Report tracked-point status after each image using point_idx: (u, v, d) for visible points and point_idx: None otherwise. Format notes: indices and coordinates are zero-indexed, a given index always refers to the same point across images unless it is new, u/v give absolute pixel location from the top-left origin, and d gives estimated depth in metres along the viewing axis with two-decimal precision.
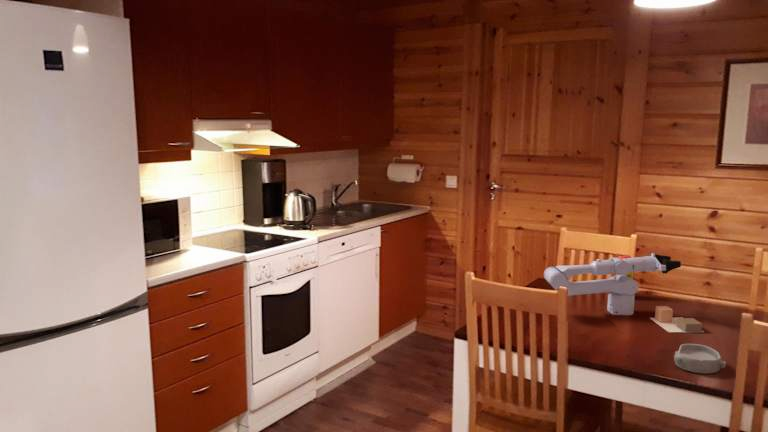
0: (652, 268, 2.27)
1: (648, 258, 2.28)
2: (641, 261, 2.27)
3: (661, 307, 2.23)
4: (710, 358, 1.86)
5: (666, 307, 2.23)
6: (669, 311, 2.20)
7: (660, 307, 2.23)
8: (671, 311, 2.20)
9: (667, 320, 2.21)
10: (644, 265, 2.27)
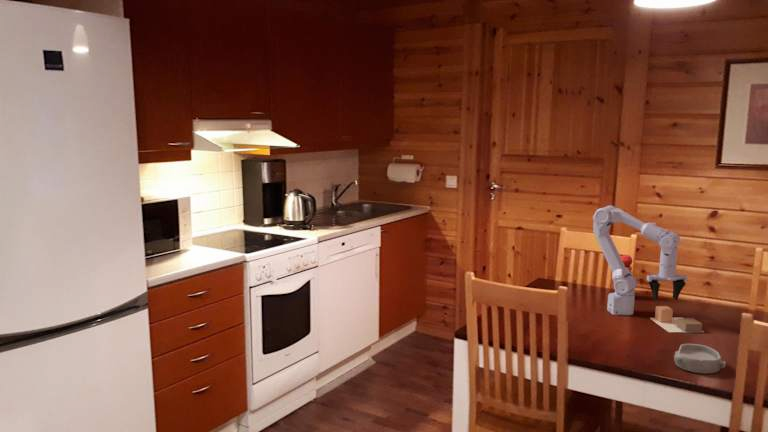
0: (659, 272, 2.21)
1: (667, 272, 2.17)
2: (671, 264, 2.17)
3: (661, 307, 2.23)
4: (710, 358, 1.86)
5: (666, 307, 2.23)
6: (669, 311, 2.20)
7: (660, 307, 2.23)
8: (671, 311, 2.20)
9: (667, 320, 2.21)
10: (661, 265, 2.19)
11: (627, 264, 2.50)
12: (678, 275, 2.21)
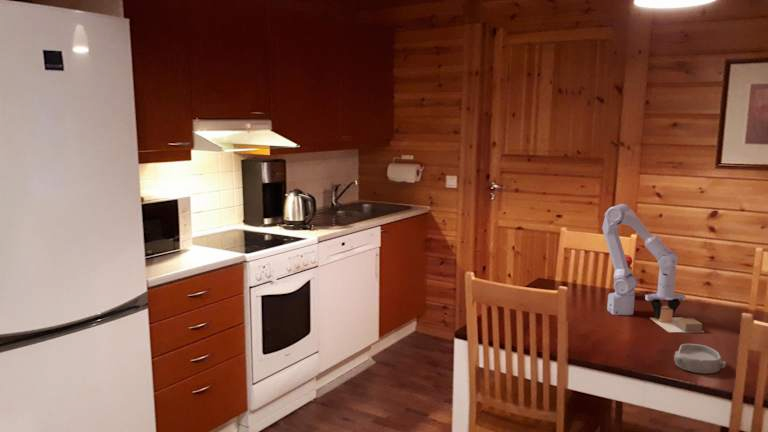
0: (657, 291, 2.23)
1: (665, 291, 2.19)
2: (669, 284, 2.18)
3: (661, 307, 2.23)
4: (710, 358, 1.86)
5: (666, 307, 2.23)
6: (669, 311, 2.20)
7: None
8: (671, 311, 2.20)
9: (667, 320, 2.21)
10: (659, 284, 2.20)
11: (627, 264, 2.50)
12: (676, 294, 2.22)
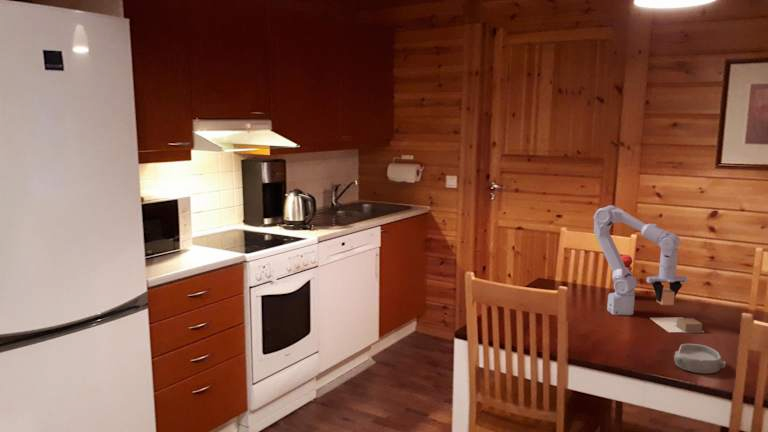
0: (659, 273, 2.21)
1: (667, 273, 2.17)
2: (671, 265, 2.17)
3: (663, 290, 2.22)
4: (710, 358, 1.86)
5: (668, 290, 2.22)
6: (671, 293, 2.19)
7: (662, 290, 2.22)
8: (673, 293, 2.19)
9: (669, 302, 2.20)
10: (661, 266, 2.19)
11: (627, 264, 2.50)
12: (678, 277, 2.21)
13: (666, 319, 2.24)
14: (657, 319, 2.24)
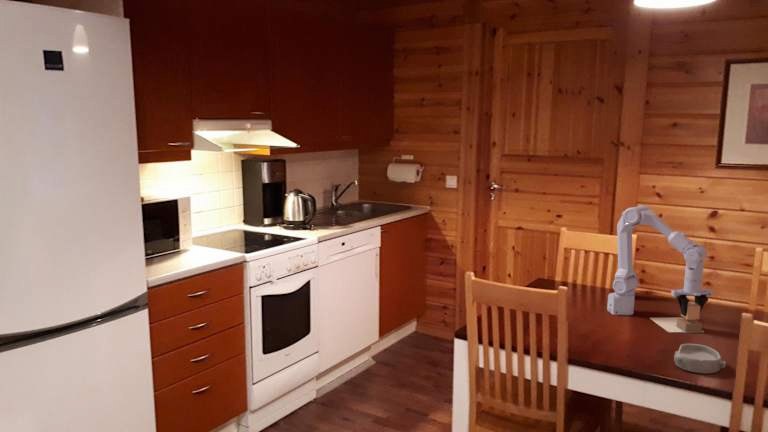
0: (684, 287, 2.13)
1: (693, 287, 2.09)
2: (696, 278, 2.08)
3: (688, 303, 2.13)
4: (710, 358, 1.86)
5: (693, 303, 2.13)
6: (697, 307, 2.11)
7: None
8: (698, 307, 2.11)
9: (694, 317, 2.12)
10: (686, 279, 2.11)
11: None
12: (704, 290, 2.12)
13: (666, 319, 2.24)
14: (657, 319, 2.24)
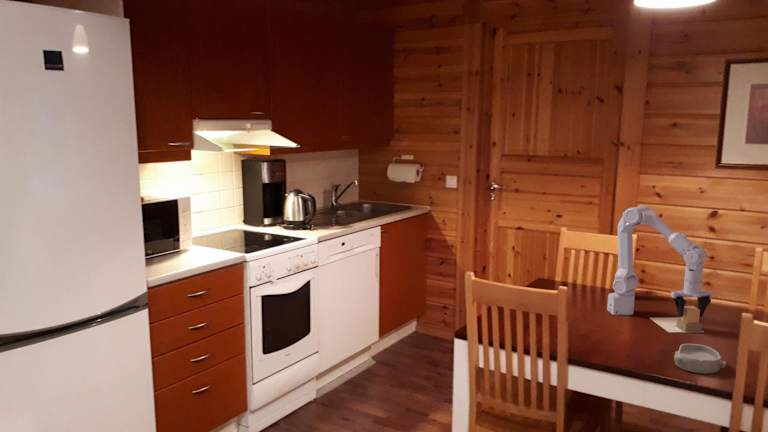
0: None
1: (693, 288, 2.09)
2: (696, 280, 2.08)
3: (687, 307, 2.14)
4: (710, 358, 1.86)
5: (692, 307, 2.14)
6: (696, 311, 2.11)
7: (686, 307, 2.14)
8: (698, 311, 2.11)
9: (694, 321, 2.12)
10: (686, 280, 2.11)
11: None
12: (704, 291, 2.12)
13: (666, 319, 2.24)
14: (657, 319, 2.24)
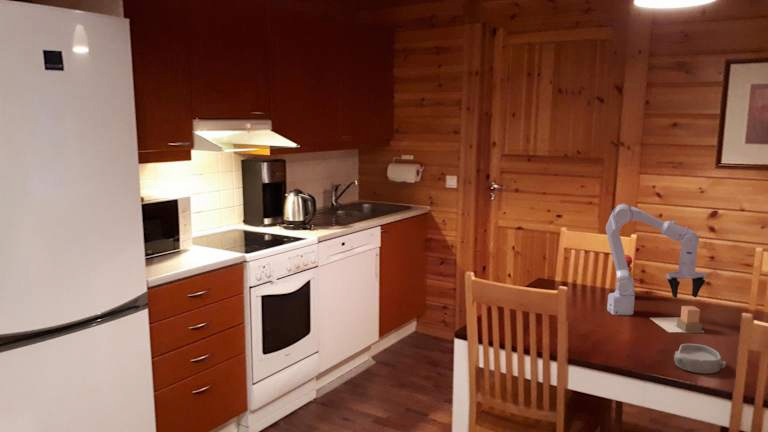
0: (678, 270, 2.23)
1: (687, 270, 2.19)
2: (693, 262, 2.18)
3: (687, 307, 2.14)
4: (710, 358, 1.86)
5: (692, 307, 2.14)
6: (696, 311, 2.11)
7: (686, 307, 2.14)
8: (698, 311, 2.11)
9: (694, 321, 2.12)
10: (680, 262, 2.21)
11: (627, 264, 2.50)
12: (697, 273, 2.22)
13: (666, 319, 2.24)
14: (657, 319, 2.24)
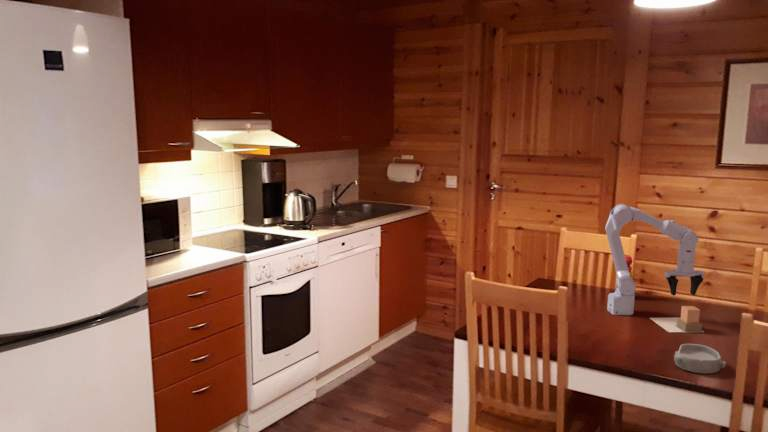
0: (677, 268, 2.25)
1: (685, 268, 2.21)
2: (692, 260, 2.21)
3: (687, 307, 2.14)
4: (710, 358, 1.86)
5: (692, 307, 2.14)
6: (696, 311, 2.11)
7: (686, 307, 2.14)
8: (698, 311, 2.11)
9: (694, 321, 2.12)
10: (679, 261, 2.23)
11: (627, 264, 2.50)
12: (696, 271, 2.25)
13: (666, 319, 2.24)
14: (657, 319, 2.24)
